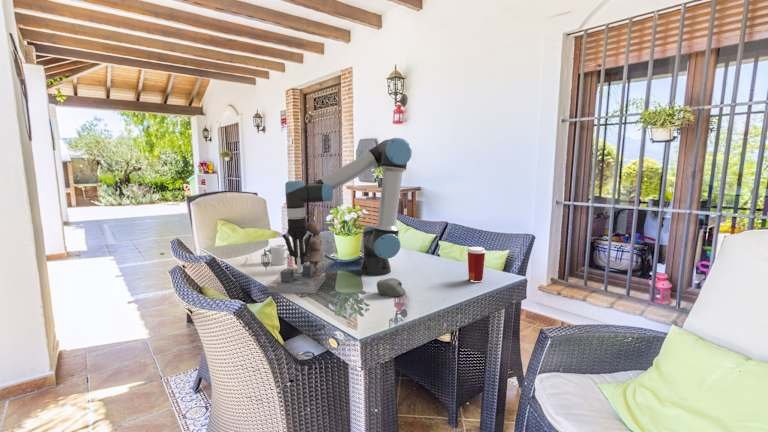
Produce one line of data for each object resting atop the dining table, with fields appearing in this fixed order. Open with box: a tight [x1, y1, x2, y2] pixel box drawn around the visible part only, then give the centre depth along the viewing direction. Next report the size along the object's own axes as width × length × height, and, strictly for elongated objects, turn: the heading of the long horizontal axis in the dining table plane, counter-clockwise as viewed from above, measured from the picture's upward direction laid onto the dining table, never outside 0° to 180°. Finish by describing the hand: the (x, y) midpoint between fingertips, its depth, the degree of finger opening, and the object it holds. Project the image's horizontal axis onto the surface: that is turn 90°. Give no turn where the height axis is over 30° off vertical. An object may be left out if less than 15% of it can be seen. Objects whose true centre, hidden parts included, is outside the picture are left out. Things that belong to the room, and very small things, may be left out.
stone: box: [376, 277, 406, 298], centre depth 156 cm, size 9×9×10 cm
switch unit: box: [267, 270, 327, 294], centre depth 168 cm, size 20×20×4 cm
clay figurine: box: [303, 220, 325, 271], centre depth 192 cm, size 13×10×25 cm
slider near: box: [280, 266, 295, 282], centre depth 163 cm, size 4×5×6 cm
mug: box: [270, 243, 291, 266], centre depth 206 cm, size 8×12×10 cm, turn 67°
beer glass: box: [466, 246, 487, 281], centre depth 172 cm, size 8×8×15 cm
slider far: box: [302, 262, 314, 276], centre depth 172 cm, size 4×5×6 cm
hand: (300, 271), depth 164 cm, fingers closed
